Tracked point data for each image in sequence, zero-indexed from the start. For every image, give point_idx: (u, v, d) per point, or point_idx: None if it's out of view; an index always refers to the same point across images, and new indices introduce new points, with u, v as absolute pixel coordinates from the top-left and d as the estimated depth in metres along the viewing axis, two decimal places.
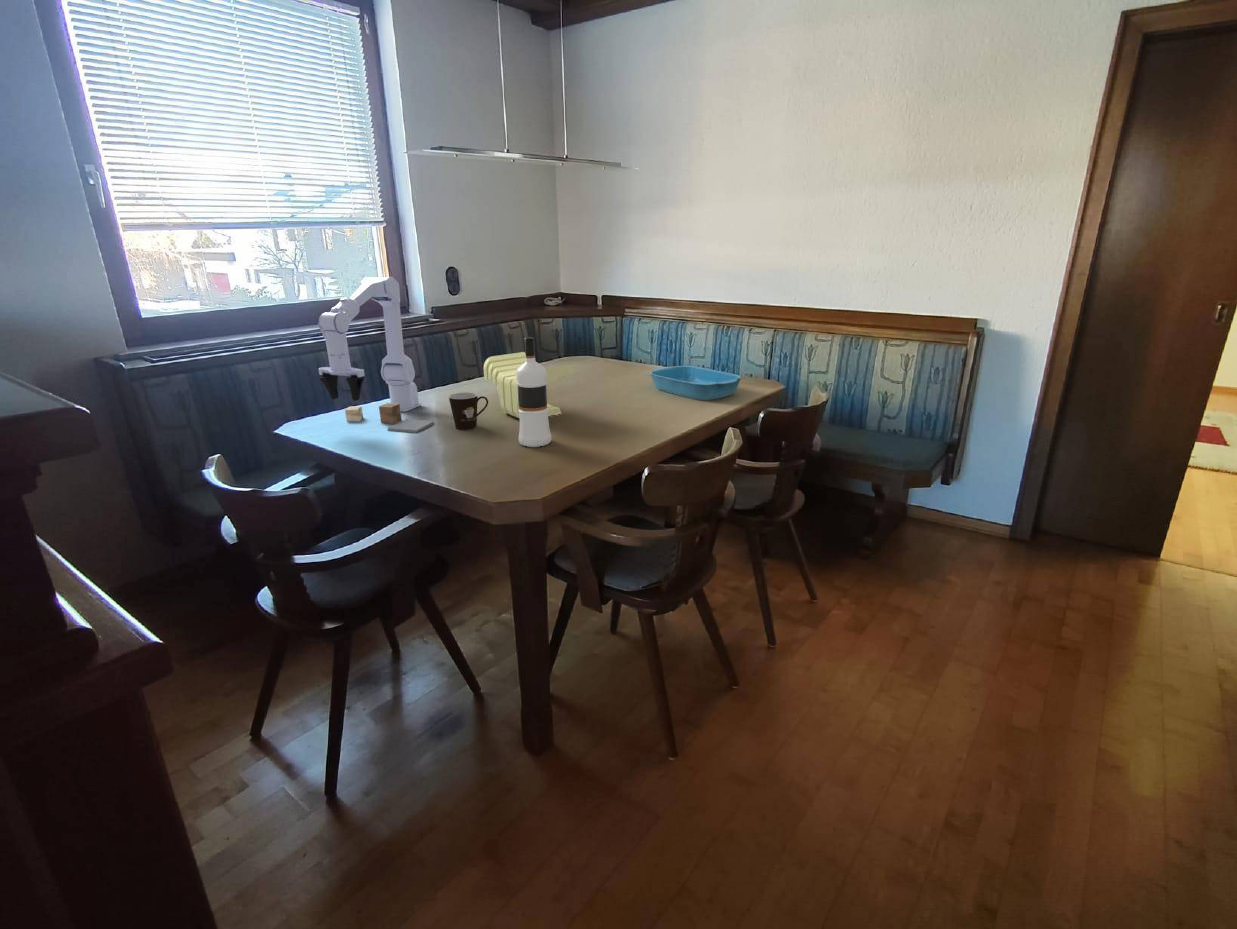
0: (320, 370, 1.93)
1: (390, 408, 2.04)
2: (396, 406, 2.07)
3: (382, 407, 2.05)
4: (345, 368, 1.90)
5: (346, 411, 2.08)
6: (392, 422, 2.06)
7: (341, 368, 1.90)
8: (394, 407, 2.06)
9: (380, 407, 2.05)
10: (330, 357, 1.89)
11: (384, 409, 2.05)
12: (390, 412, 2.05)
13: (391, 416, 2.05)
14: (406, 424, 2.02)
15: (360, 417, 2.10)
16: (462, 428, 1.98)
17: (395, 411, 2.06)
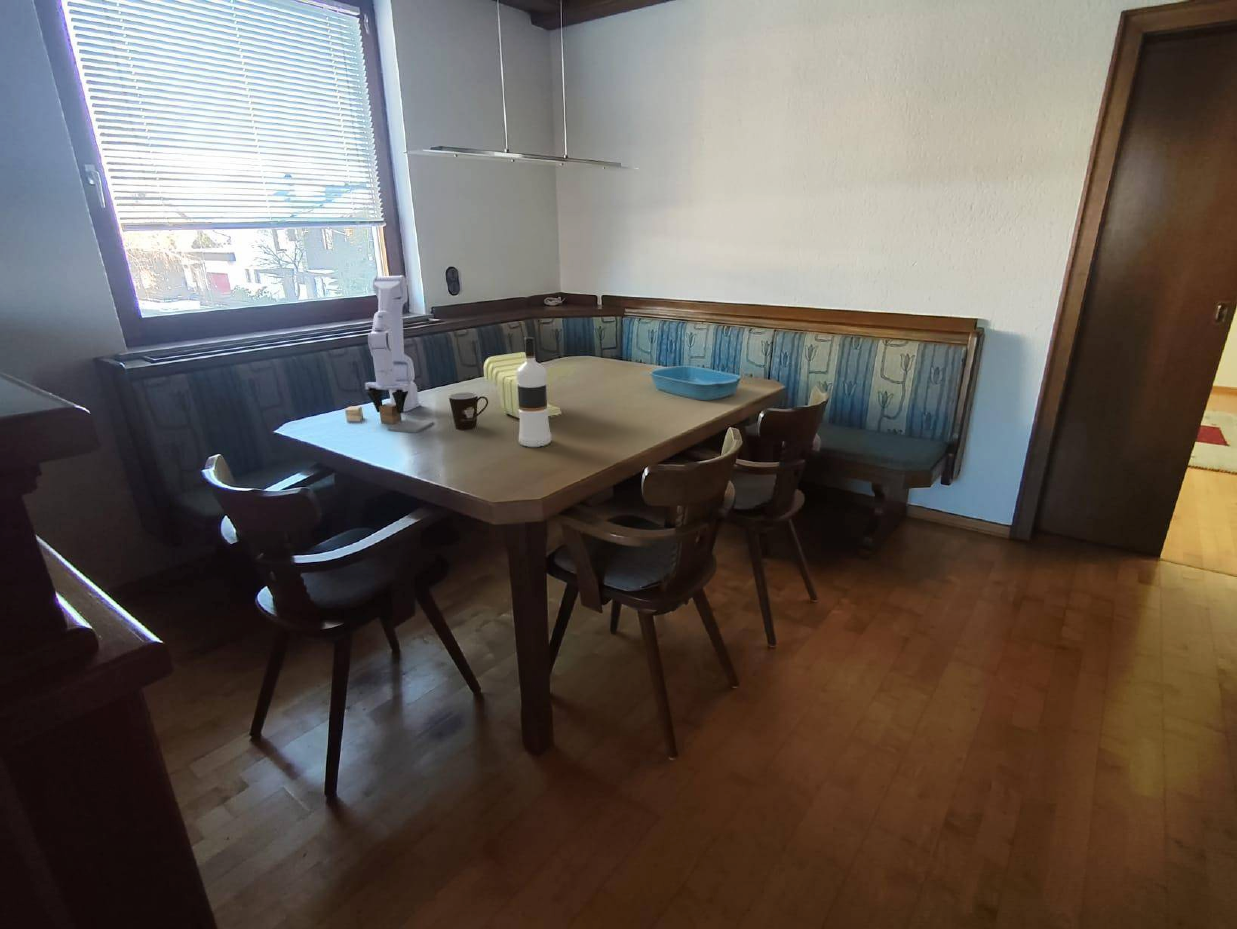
0: (366, 385, 2.05)
1: (390, 408, 2.04)
2: None
3: (382, 407, 2.05)
4: (391, 383, 2.02)
5: (346, 411, 2.08)
6: (392, 422, 2.06)
7: (387, 383, 2.02)
8: (394, 407, 2.06)
9: (380, 407, 2.05)
10: (377, 373, 2.01)
11: (384, 409, 2.05)
12: (390, 412, 2.05)
13: (391, 416, 2.05)
14: (406, 424, 2.02)
15: (360, 417, 2.10)
16: (462, 428, 1.98)
17: (395, 411, 2.06)
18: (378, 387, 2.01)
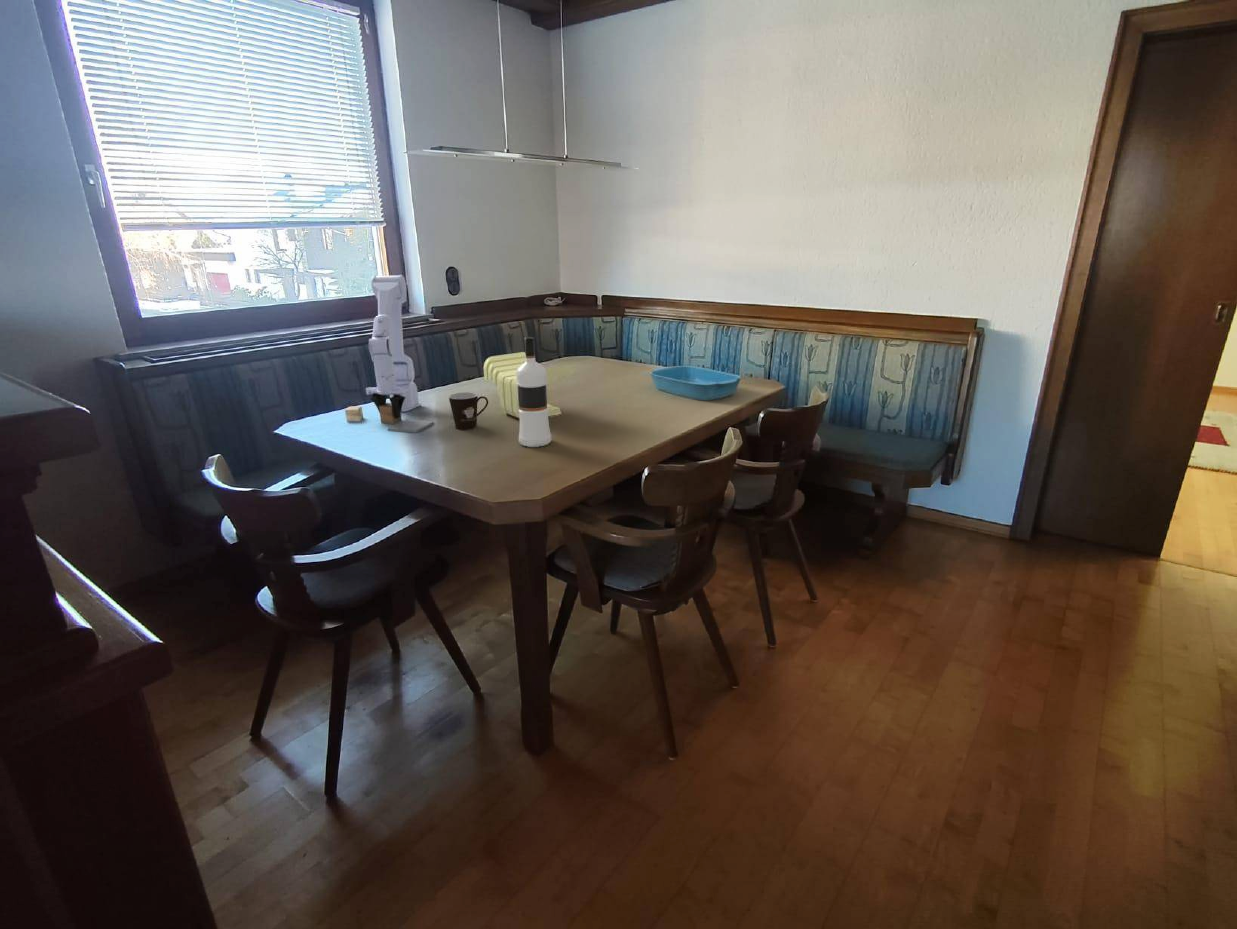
0: (367, 390, 2.06)
1: (390, 408, 2.04)
2: None
3: (382, 407, 2.05)
4: (391, 388, 2.03)
5: (346, 411, 2.08)
6: (392, 422, 2.06)
7: (388, 389, 2.02)
8: None
9: (380, 407, 2.05)
10: (378, 378, 2.01)
11: (384, 409, 2.05)
12: (390, 412, 2.05)
13: (391, 416, 2.05)
14: (406, 424, 2.02)
15: (360, 417, 2.10)
16: (462, 428, 1.98)
17: None
18: (379, 392, 2.01)
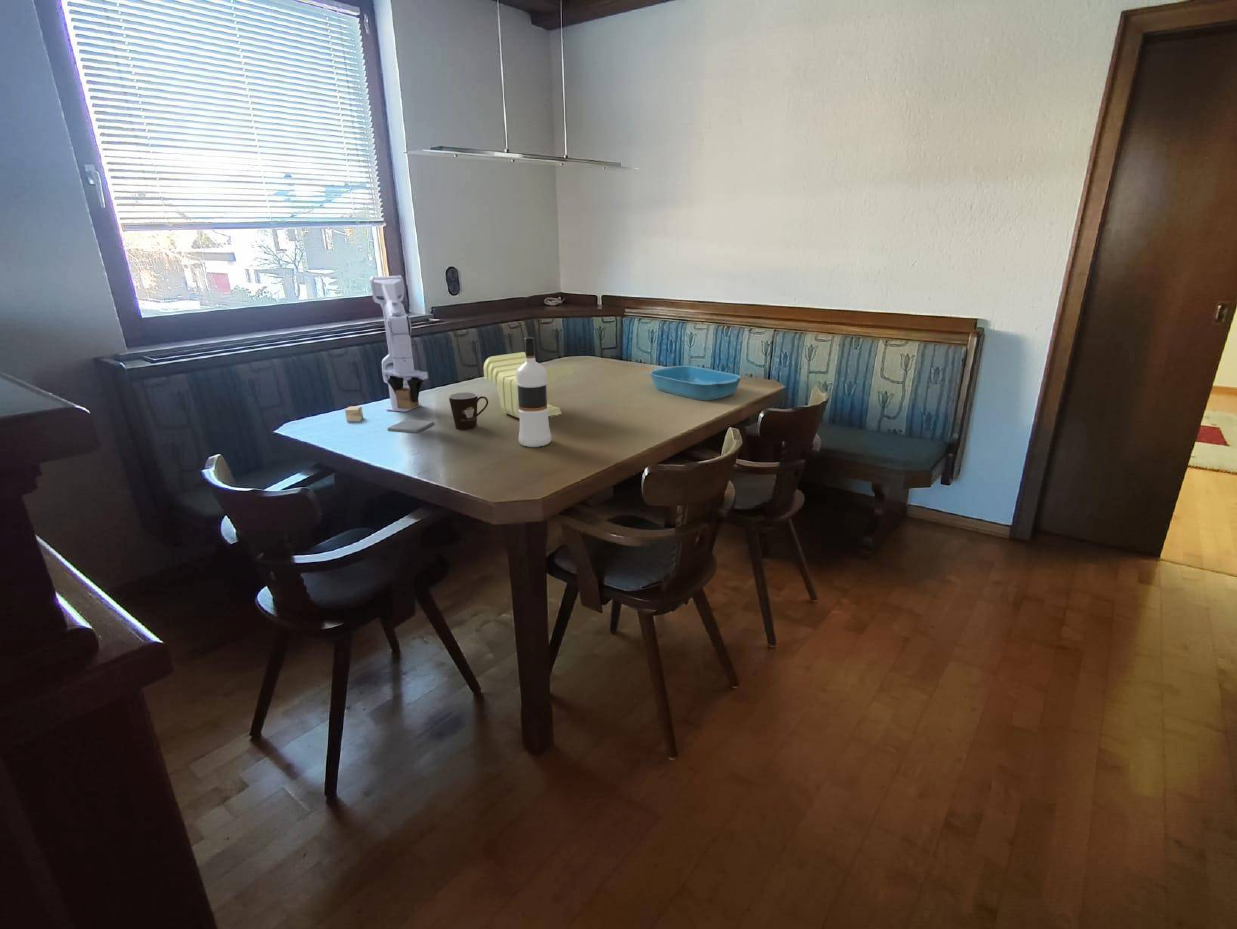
0: (384, 373, 1.97)
1: (407, 392, 1.95)
2: None
3: (399, 391, 1.96)
4: (409, 371, 1.94)
5: (346, 411, 2.08)
6: (409, 407, 1.97)
7: (405, 371, 1.94)
8: None
9: (397, 391, 1.96)
10: (395, 360, 1.93)
11: (401, 393, 1.96)
12: (407, 396, 1.96)
13: (408, 401, 1.96)
14: (406, 424, 2.02)
15: (360, 417, 2.10)
16: (462, 428, 1.98)
17: None
18: (396, 375, 1.93)
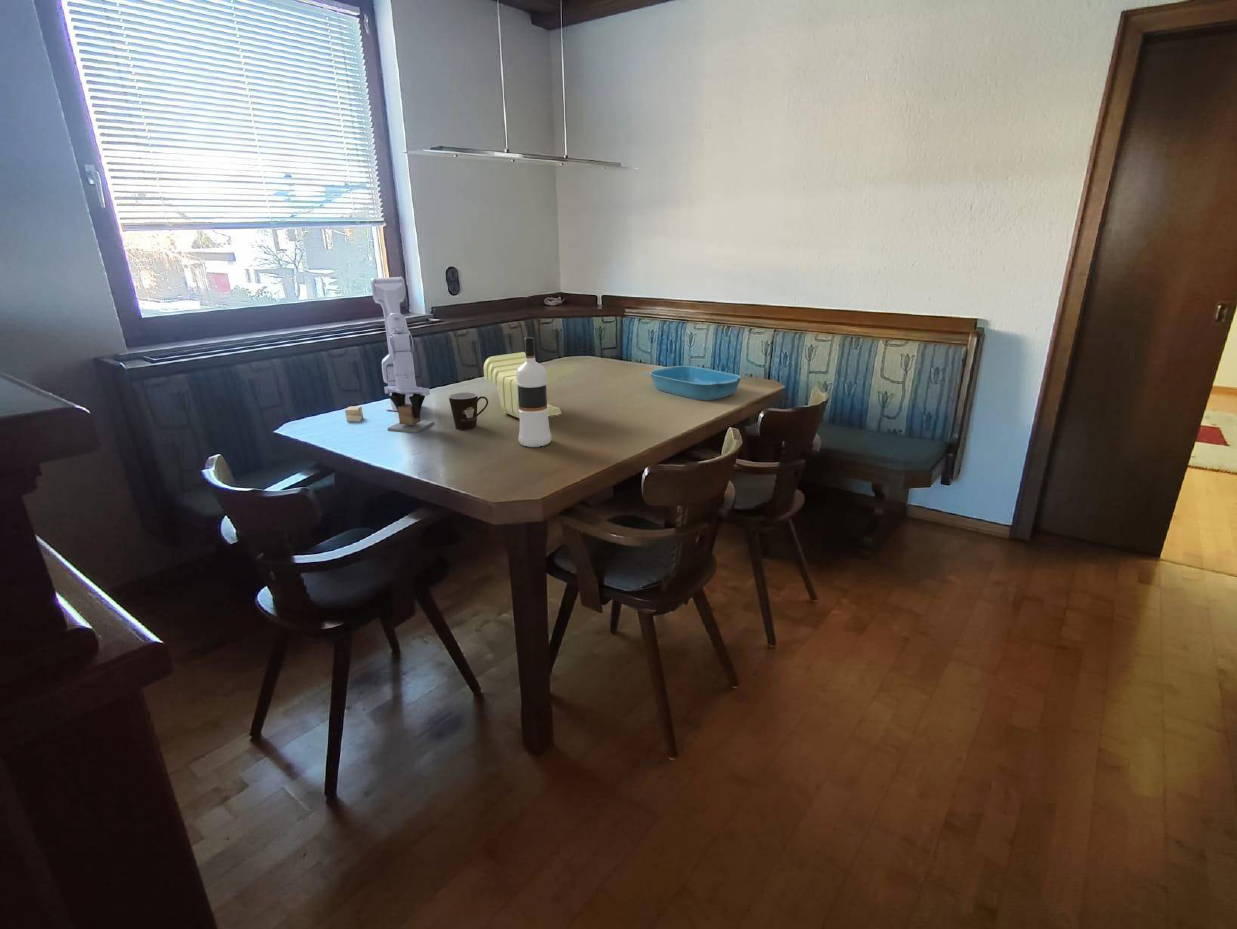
0: (386, 389, 1.99)
1: (409, 409, 1.97)
2: None
3: (401, 407, 1.98)
4: (411, 387, 1.96)
5: (346, 411, 2.08)
6: (411, 423, 1.99)
7: (407, 388, 1.95)
8: None
9: (399, 407, 1.98)
10: (397, 377, 1.94)
11: (403, 409, 1.98)
12: (409, 413, 1.98)
13: (410, 417, 1.98)
14: None
15: (360, 417, 2.10)
16: (462, 428, 1.98)
17: None
18: (398, 391, 1.94)
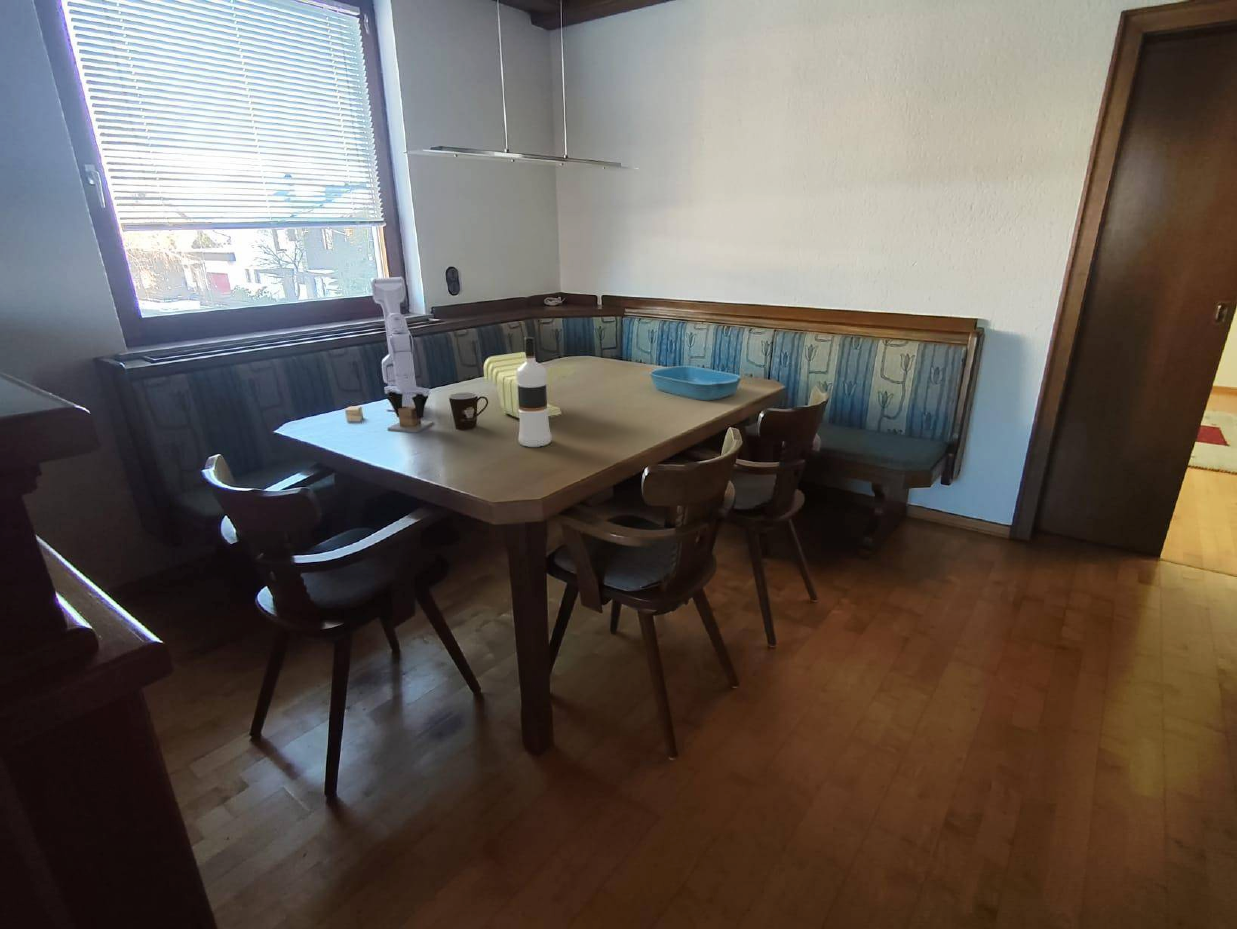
0: (386, 389, 1.99)
1: (410, 411, 1.97)
2: None
3: (401, 410, 1.98)
4: (411, 387, 1.96)
5: (346, 411, 2.08)
6: (411, 425, 1.99)
7: (407, 388, 1.95)
8: (414, 410, 1.99)
9: (399, 410, 1.98)
10: (397, 377, 1.94)
11: (403, 412, 1.98)
12: (410, 415, 1.98)
13: (411, 419, 1.98)
14: None
15: (360, 417, 2.10)
16: (462, 428, 1.98)
17: (415, 414, 2.00)
18: (398, 391, 1.94)
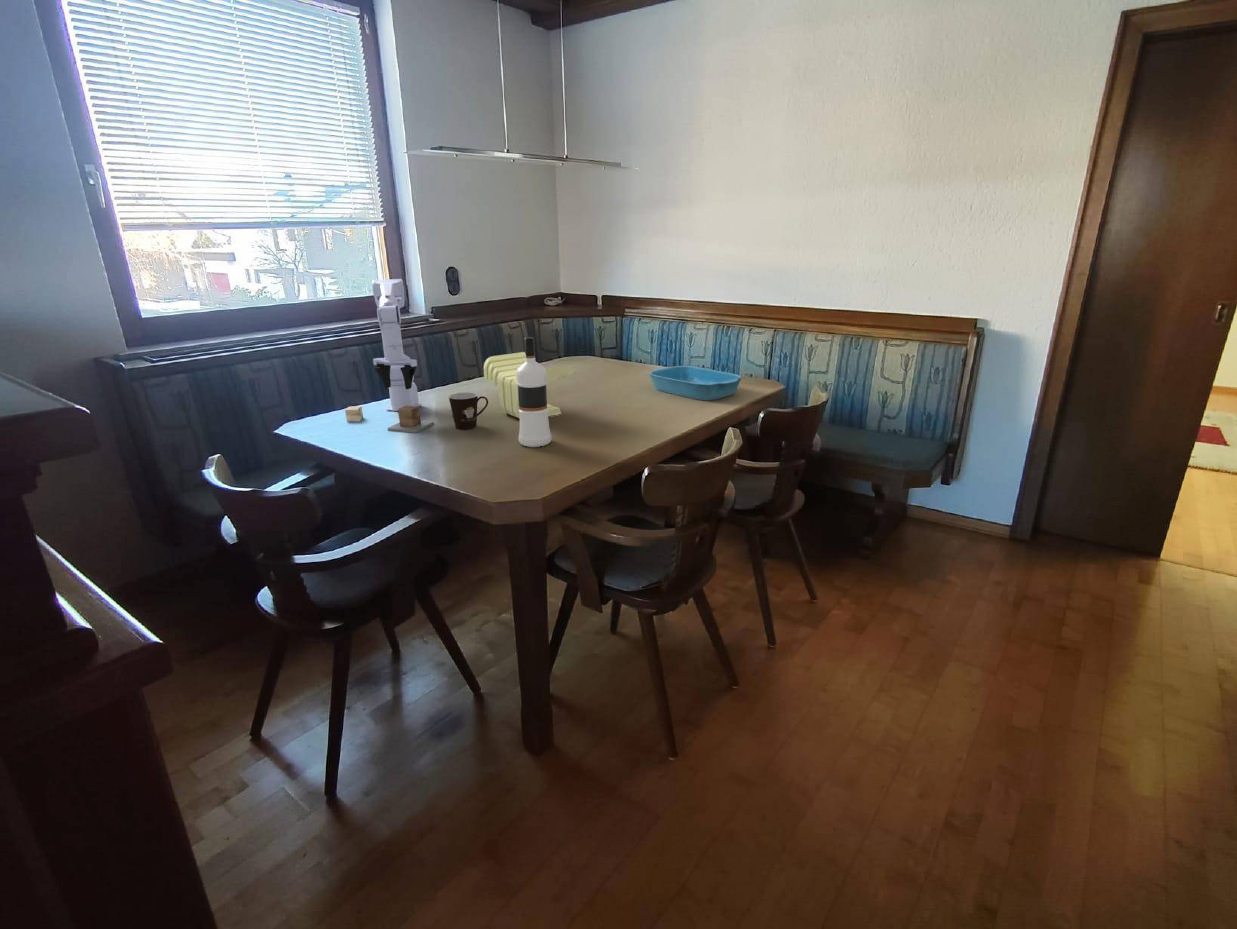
0: (375, 361, 2.05)
1: (410, 411, 1.97)
2: (416, 409, 2.00)
3: (401, 410, 1.98)
4: (399, 358, 2.02)
5: (346, 411, 2.08)
6: (411, 425, 1.99)
7: (395, 358, 2.01)
8: (414, 410, 1.99)
9: (399, 410, 1.98)
10: (385, 348, 2.00)
11: (403, 412, 1.98)
12: (410, 415, 1.98)
13: (411, 419, 1.98)
14: None
15: (360, 417, 2.10)
16: (462, 428, 1.98)
17: (415, 414, 2.00)
18: (386, 362, 2.00)
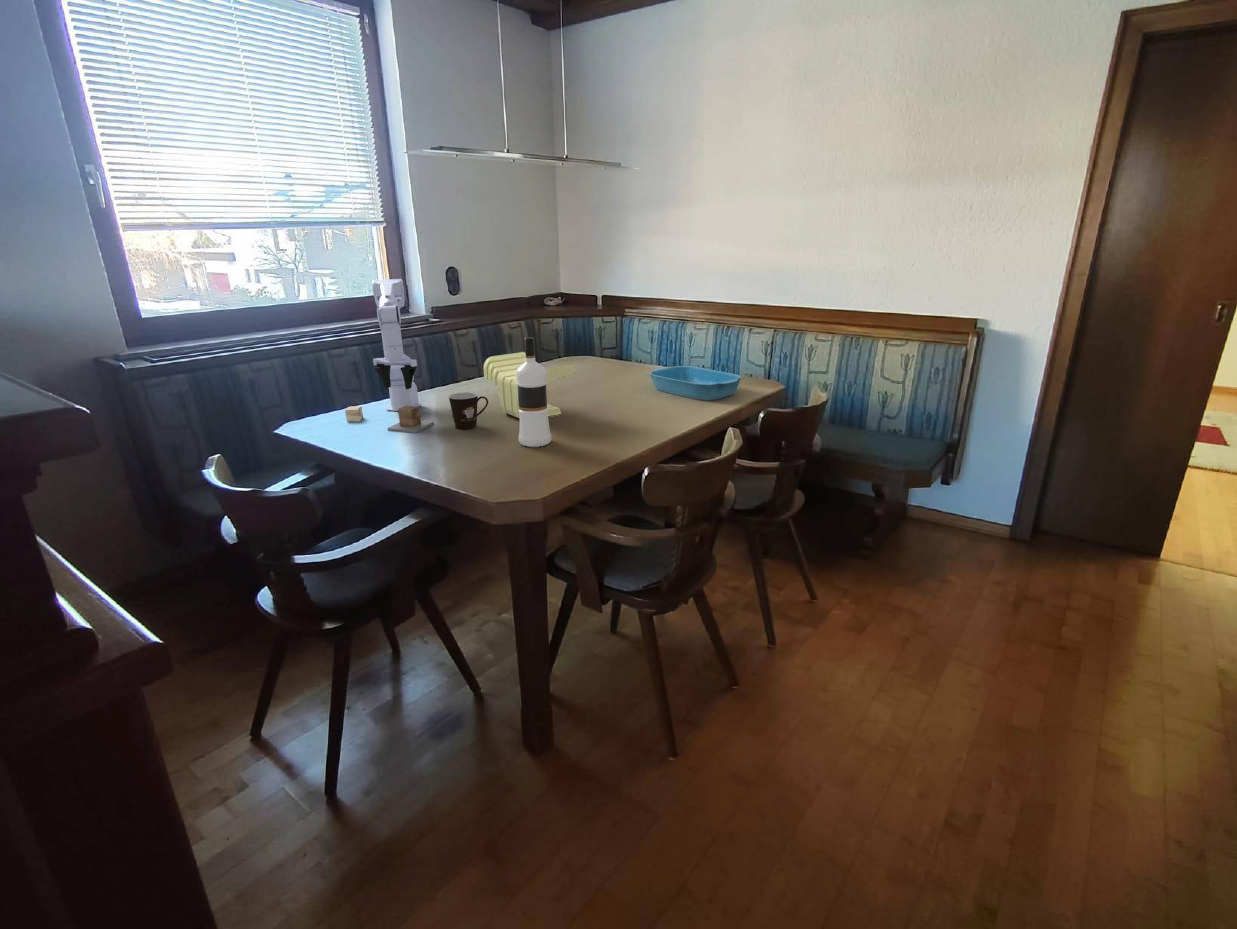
0: (375, 361, 2.05)
1: (410, 411, 1.97)
2: (416, 409, 2.00)
3: (401, 410, 1.98)
4: (399, 358, 2.02)
5: (346, 411, 2.08)
6: (411, 425, 1.99)
7: (395, 358, 2.01)
8: (414, 410, 1.99)
9: (399, 410, 1.98)
10: (385, 348, 2.00)
11: (403, 412, 1.98)
12: (410, 415, 1.98)
13: (411, 419, 1.98)
14: None
15: (360, 417, 2.10)
16: (462, 428, 1.98)
17: (415, 414, 2.00)
18: (386, 362, 2.00)
